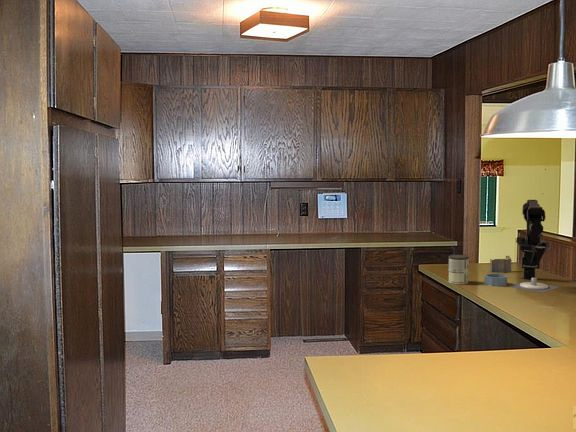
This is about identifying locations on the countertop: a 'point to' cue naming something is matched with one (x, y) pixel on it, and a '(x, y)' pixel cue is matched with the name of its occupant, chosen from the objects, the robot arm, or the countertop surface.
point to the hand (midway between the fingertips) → (534, 262)
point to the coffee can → (458, 269)
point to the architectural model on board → (500, 265)
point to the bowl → (495, 279)
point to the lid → (534, 285)
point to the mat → (533, 289)
